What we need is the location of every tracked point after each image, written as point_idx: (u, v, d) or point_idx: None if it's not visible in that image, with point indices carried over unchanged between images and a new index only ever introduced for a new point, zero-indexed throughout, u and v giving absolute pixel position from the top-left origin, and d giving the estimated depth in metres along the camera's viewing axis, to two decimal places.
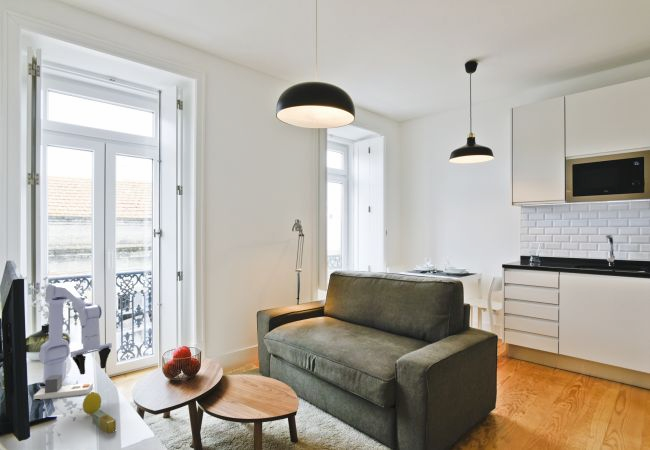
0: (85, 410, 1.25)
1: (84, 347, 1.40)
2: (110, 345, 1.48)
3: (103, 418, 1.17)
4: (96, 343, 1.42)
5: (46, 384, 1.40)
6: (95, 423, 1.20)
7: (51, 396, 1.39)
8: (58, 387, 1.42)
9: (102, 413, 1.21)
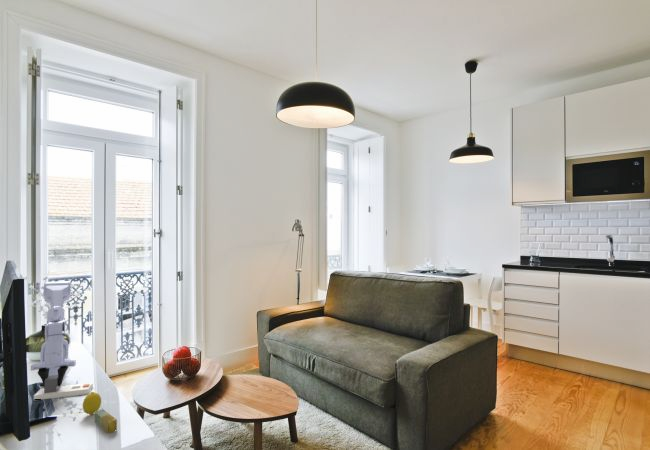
0: (85, 410, 1.25)
1: None
2: (72, 364, 1.44)
3: (104, 417, 1.18)
4: (52, 361, 1.41)
5: (45, 384, 1.40)
6: (97, 422, 1.20)
7: (51, 396, 1.39)
8: (57, 387, 1.42)
9: (104, 412, 1.21)
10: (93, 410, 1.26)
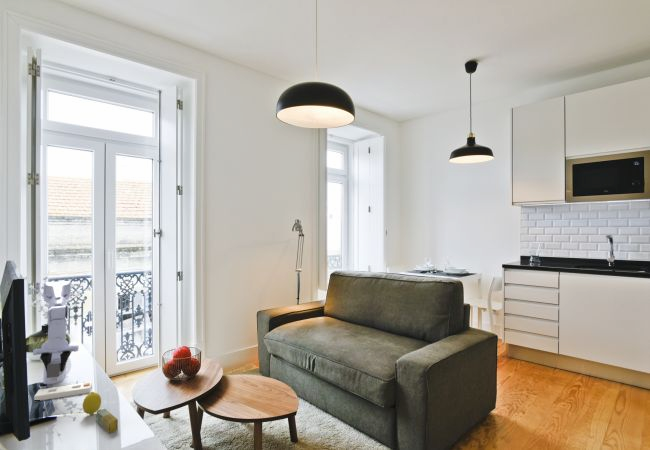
0: (85, 410, 1.25)
1: None
2: (75, 349, 1.43)
3: (106, 417, 1.18)
4: (55, 345, 1.39)
5: (48, 369, 1.38)
6: (99, 422, 1.21)
7: (52, 396, 1.39)
8: (60, 372, 1.40)
9: (106, 412, 1.21)
10: (93, 410, 1.26)
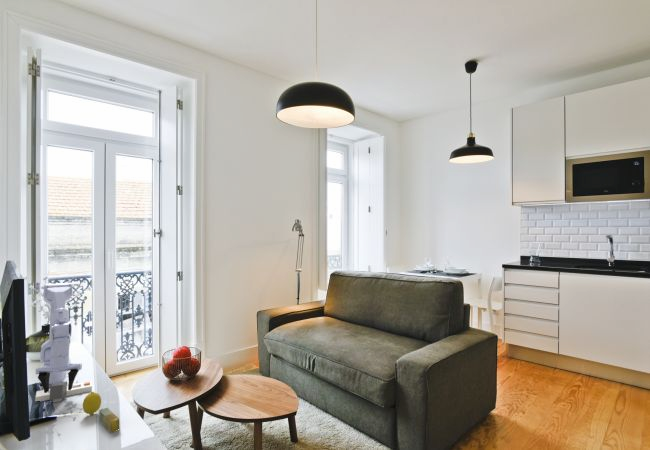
0: (85, 410, 1.25)
1: None
2: (78, 367, 1.39)
3: (108, 416, 1.18)
4: (58, 364, 1.35)
5: (51, 391, 1.35)
6: (101, 421, 1.21)
7: None
8: (63, 394, 1.37)
9: (108, 411, 1.22)
10: (93, 410, 1.26)
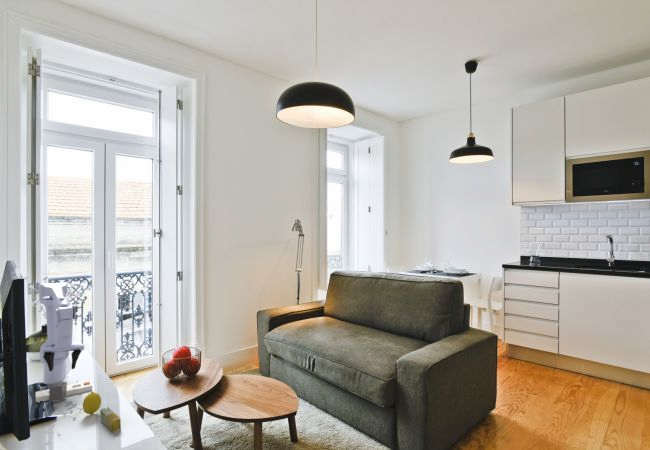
0: (85, 410, 1.25)
1: None
2: (81, 348, 1.48)
3: (109, 416, 1.19)
4: (62, 345, 1.45)
5: (50, 392, 1.34)
6: (102, 420, 1.22)
7: None
8: (63, 395, 1.37)
9: (109, 411, 1.22)
10: (93, 410, 1.26)
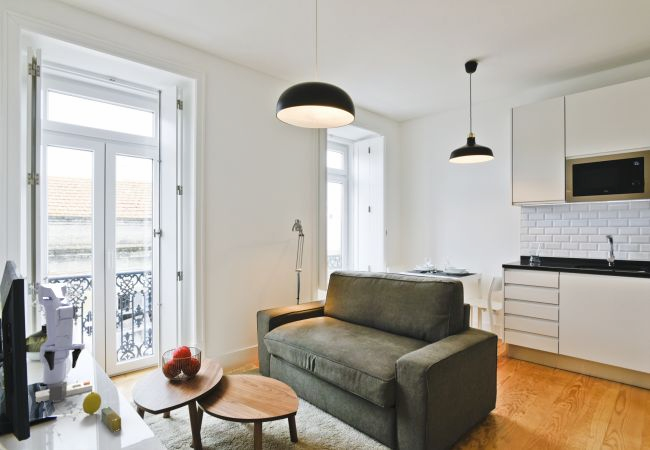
0: (85, 410, 1.25)
1: None
2: (81, 347, 1.49)
3: (110, 416, 1.19)
4: (62, 344, 1.45)
5: (50, 392, 1.34)
6: (103, 420, 1.22)
7: None
8: (63, 395, 1.37)
9: (110, 410, 1.22)
10: (93, 410, 1.26)
